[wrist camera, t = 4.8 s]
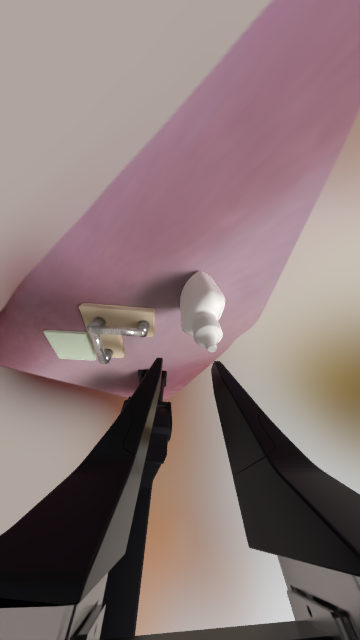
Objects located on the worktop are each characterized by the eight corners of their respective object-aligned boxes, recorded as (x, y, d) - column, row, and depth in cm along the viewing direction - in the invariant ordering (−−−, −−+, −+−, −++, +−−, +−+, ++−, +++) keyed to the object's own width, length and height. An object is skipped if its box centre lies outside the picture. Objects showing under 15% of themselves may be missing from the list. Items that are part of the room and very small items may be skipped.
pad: (96, 358, 28) (95, 360, 28) (61, 356, 28) (59, 358, 27) (87, 332, 24) (85, 334, 24) (46, 329, 24) (43, 331, 23)
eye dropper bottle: (217, 291, 20) (257, 351, 10) (185, 309, 22) (193, 375, 12) (205, 265, 18) (239, 310, 8) (170, 287, 20) (164, 346, 10)
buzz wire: (154, 354, 28) (151, 370, 25) (99, 351, 27) (89, 367, 24) (154, 308, 22) (150, 321, 18) (83, 302, 21) (66, 315, 18)
